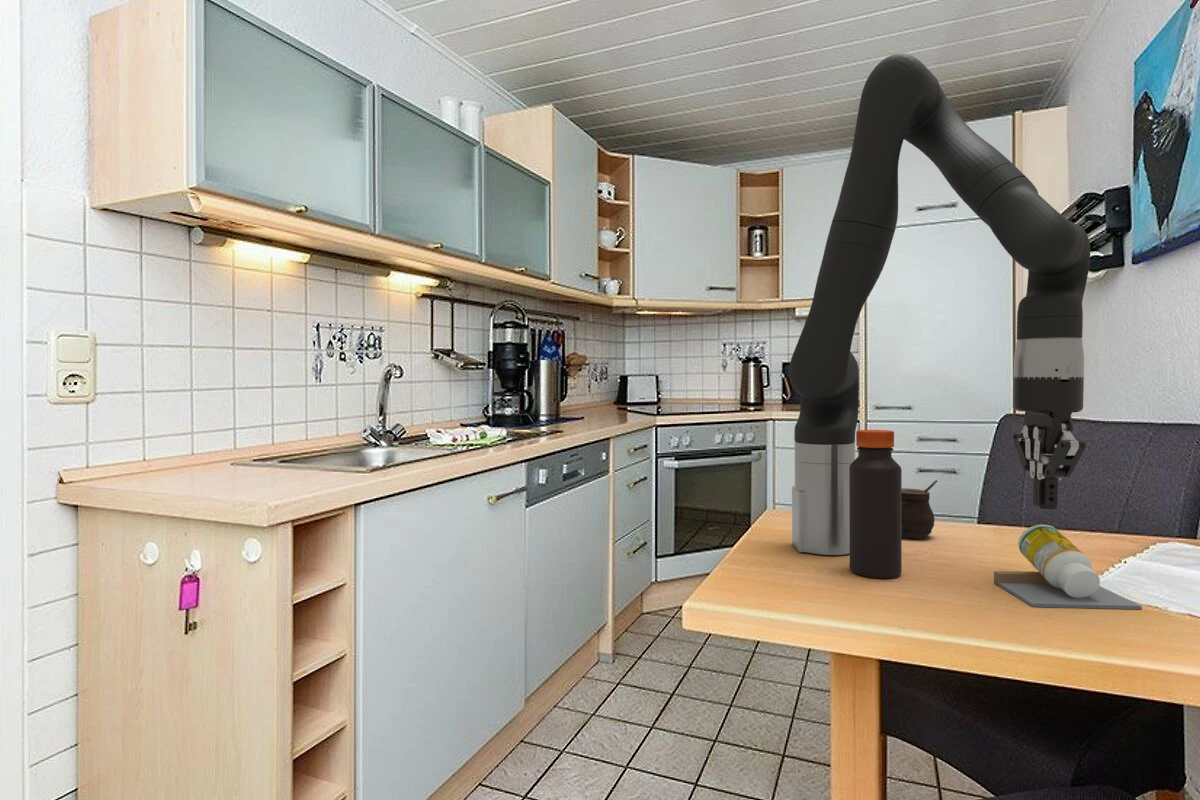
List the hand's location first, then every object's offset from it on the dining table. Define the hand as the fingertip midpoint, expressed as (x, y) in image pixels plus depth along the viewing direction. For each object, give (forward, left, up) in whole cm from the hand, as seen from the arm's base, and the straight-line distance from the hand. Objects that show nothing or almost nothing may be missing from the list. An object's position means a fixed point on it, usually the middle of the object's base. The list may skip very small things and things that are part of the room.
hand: (1045, 508), depth 86 cm
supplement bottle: (0, +2, -5) cm, 5 cm away
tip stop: (0, -4, -10) cm, 11 cm away
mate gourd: (-7, +28, -11) cm, 31 cm away
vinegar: (-20, +5, -11) cm, 23 cm away
